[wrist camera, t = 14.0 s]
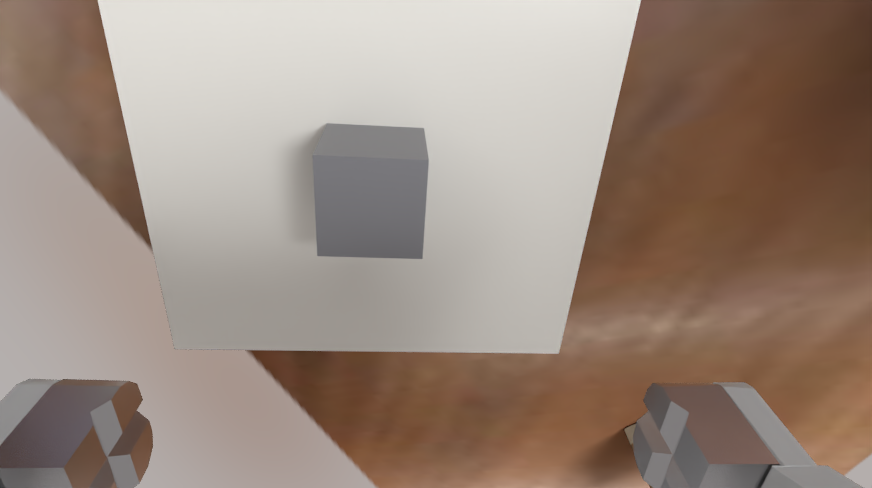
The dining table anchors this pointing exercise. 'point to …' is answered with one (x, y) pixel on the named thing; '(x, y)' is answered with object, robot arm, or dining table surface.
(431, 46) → the lid
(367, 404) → the dining table surface
